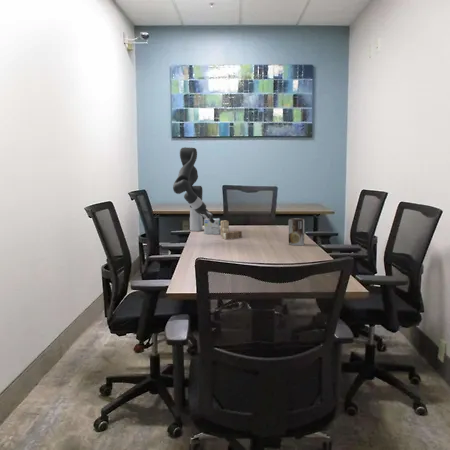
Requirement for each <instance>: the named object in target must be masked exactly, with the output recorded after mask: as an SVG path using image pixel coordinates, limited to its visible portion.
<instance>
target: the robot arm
mask: <svg viewBox="0 0 450 450" xmlns="http://www.w3.org/2000/svg"><path fill="white" fill-rule="evenodd" d="M179 159H180V162H181V164H182V166H181V167H180V169H179V171H178V176H177V178H176V179H175V180H174V182H173V184H172V189H173V192H174V193H175V194H177V195H180V194H182V193H184V192H185V194H184V195H183V198H184V200H185V201H186V202H187V203H188V204H189V231H192V232H201V231H202V232H203V230H204V219H206V218H207V219H208V220H209V221H210V222H211V223H214V222H215V220H214V219H213V218H214V215H213V212H212V211H209V209H207V205H206V204H205V202H204V201H203V192H204V191H203V186H202V185H194V184H195V183H196V182H197V180H198V179H199V175H198V170H197V168H196V166H195V164H196V161H197V159H198V151H197V148H195V147H186V146H185V147H181V148H180V149H179ZM203 218H204V219H203Z"/></svg>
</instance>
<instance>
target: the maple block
mask: <svg viewBox="0 0 450 450" xmlns="http://www.w3.org/2000/svg"><path fill="white" fill-rule="evenodd" d="M229 224H230V223H229V220H226V219H225V220H220V236H222V233H223V232H230V231H229V229H230V228H229Z"/></svg>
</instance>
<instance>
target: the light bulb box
mask: <svg viewBox="0 0 450 450" xmlns="http://www.w3.org/2000/svg"><path fill="white" fill-rule="evenodd" d="M212 218H213V219H214V220H215V222H214V223H211V222H210V221H209V220H208V219H207V218H206V219H205V218H204V219H203V230H204V232H203V234H204V235H220V234H221V219H220V217H217V218H215V217H212Z"/></svg>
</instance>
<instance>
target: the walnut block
mask: <svg viewBox="0 0 450 450" xmlns="http://www.w3.org/2000/svg"><path fill="white" fill-rule="evenodd" d="M238 237H239V238H242V237H243V231H242V230H232V231H229V232H223V233H222V235H221V239H222V240H230V239H231V238H232V239H238Z"/></svg>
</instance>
